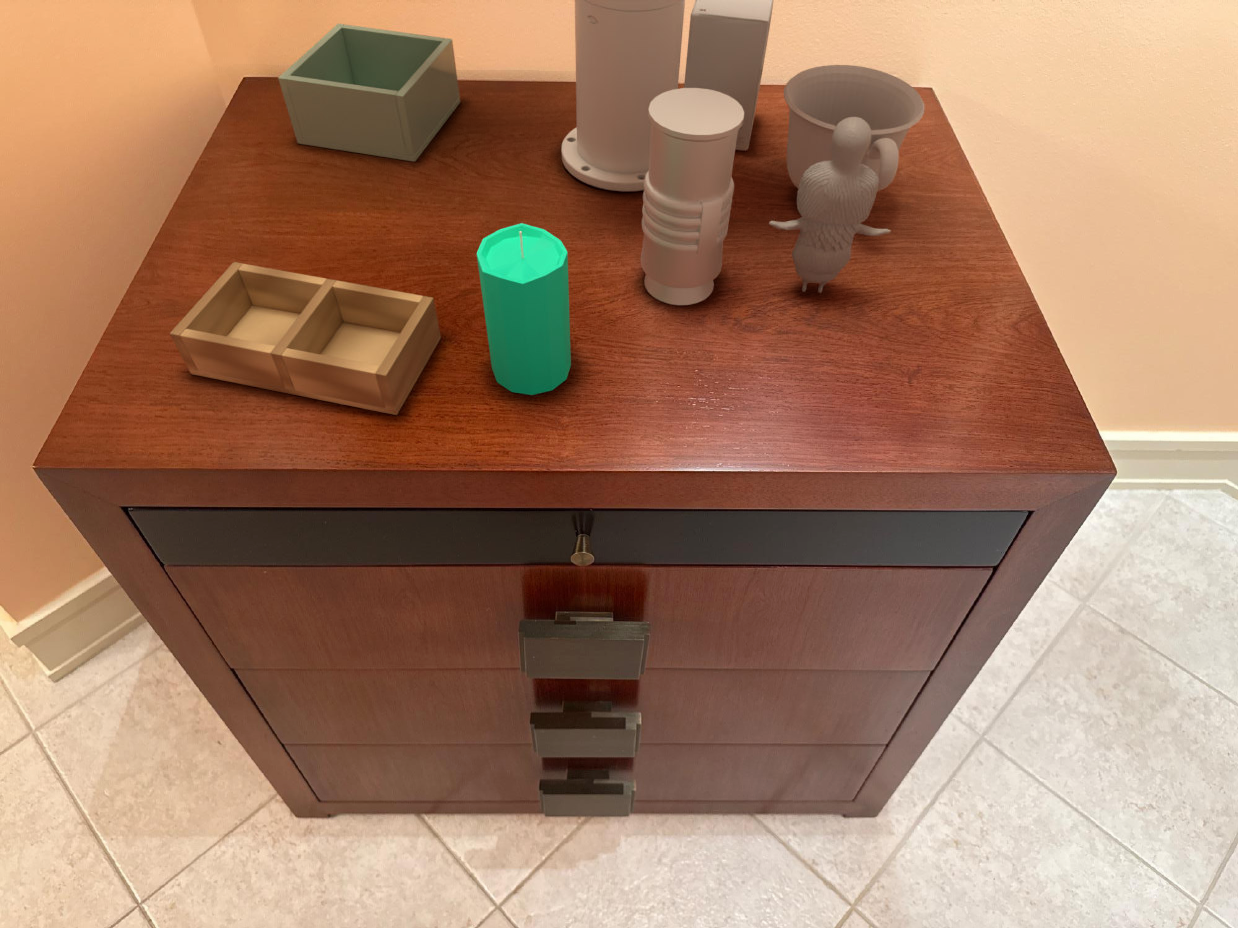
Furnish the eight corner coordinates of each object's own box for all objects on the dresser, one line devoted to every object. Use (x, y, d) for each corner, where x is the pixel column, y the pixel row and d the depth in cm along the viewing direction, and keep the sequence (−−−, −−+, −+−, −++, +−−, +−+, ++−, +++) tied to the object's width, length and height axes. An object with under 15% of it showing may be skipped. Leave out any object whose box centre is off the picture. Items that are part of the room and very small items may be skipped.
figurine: (864, 279, 69) (919, 109, 58) (870, 309, 67) (928, 137, 55) (754, 271, 70) (787, 101, 58) (756, 301, 67) (790, 128, 56)
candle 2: (664, 318, 65) (679, 145, 54) (624, 270, 69) (630, 99, 58) (735, 295, 68) (764, 123, 56) (693, 250, 71) (712, 80, 60)
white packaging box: (748, 153, 82) (769, 21, 72) (677, 143, 83) (688, 12, 73) (756, 118, 87) (776, -10, 77) (688, 109, 88) (699, -19, 78)
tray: (441, 337, 63) (433, 297, 60) (397, 415, 58) (385, 375, 55) (250, 302, 65) (233, 261, 62) (190, 374, 60) (169, 333, 57)
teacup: (800, 262, 71) (825, 156, 63) (748, 171, 80) (765, 68, 72) (927, 248, 73) (967, 143, 65) (862, 160, 82) (890, 59, 74)
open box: (460, 102, 87) (452, 38, 82) (415, 162, 79) (403, 96, 74) (352, 86, 89) (337, 23, 84) (297, 143, 81) (277, 77, 76)
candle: (492, 341, 63) (475, 206, 54) (569, 338, 64) (565, 204, 54) (491, 396, 59) (472, 261, 50) (572, 393, 60) (569, 259, 51)
